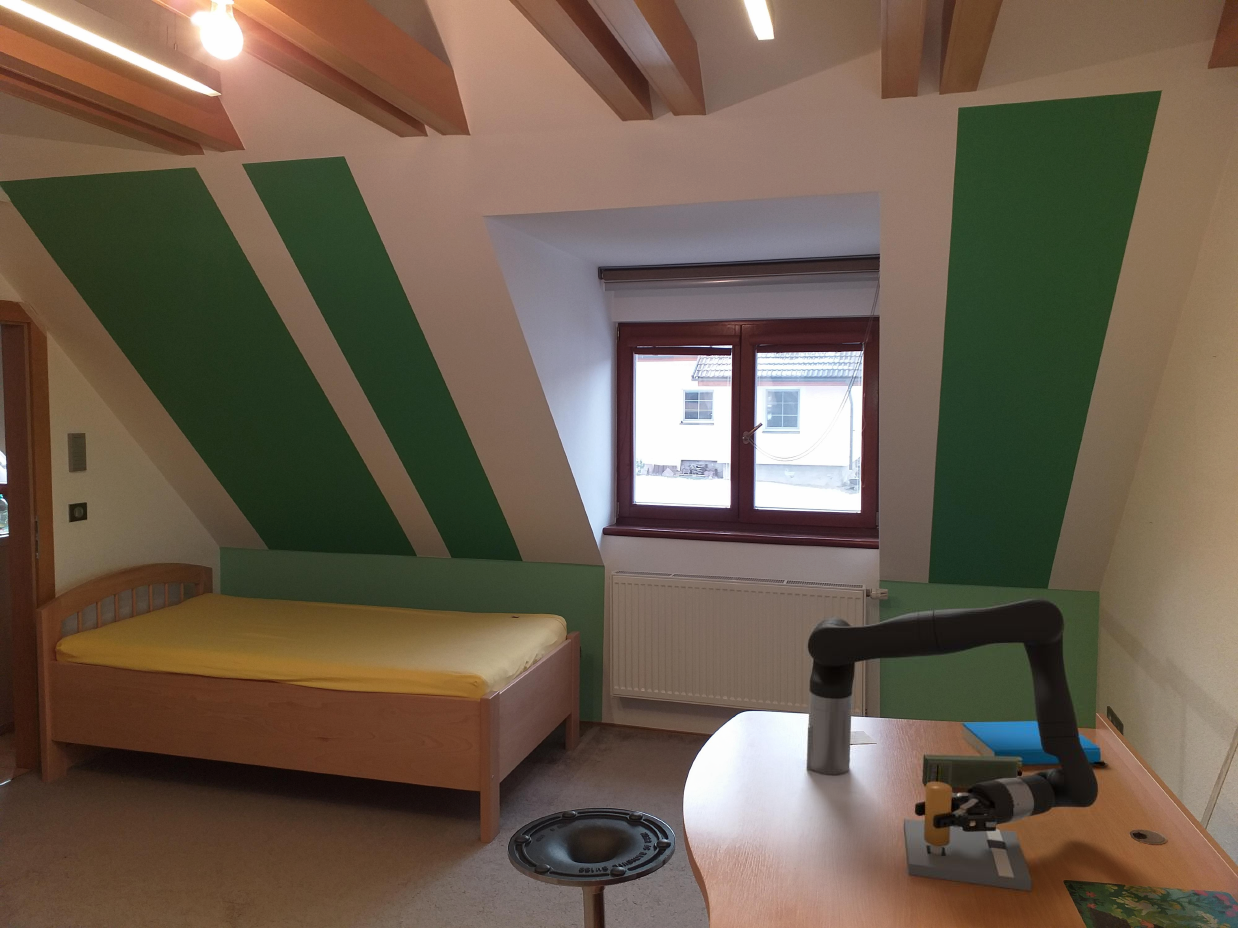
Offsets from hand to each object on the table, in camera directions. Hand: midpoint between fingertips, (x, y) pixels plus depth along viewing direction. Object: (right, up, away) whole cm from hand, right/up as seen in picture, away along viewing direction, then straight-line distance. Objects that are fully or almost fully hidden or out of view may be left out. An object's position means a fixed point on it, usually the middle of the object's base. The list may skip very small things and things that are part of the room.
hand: (925, 815), depth 166 cm
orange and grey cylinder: (+2, -9, +2) cm, 9 cm away
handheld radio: (+23, -6, +33) cm, 40 cm away
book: (+41, -5, +52) cm, 67 cm away
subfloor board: (+8, -9, +3) cm, 12 cm away
